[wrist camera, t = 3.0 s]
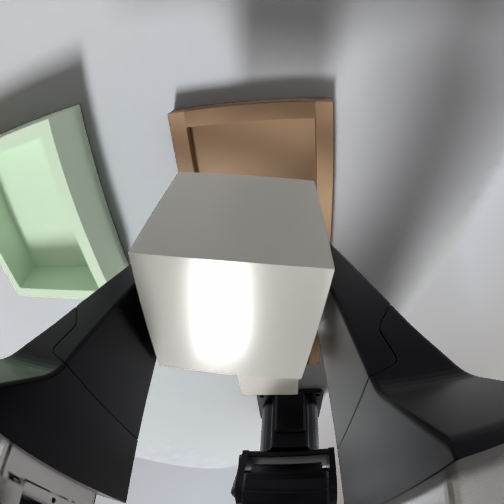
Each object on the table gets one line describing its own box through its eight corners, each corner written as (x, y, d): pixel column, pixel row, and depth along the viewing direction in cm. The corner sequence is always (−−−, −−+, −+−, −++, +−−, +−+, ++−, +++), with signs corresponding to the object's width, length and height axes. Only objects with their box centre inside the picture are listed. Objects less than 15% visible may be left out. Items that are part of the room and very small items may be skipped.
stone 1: (296, 350, 24) (297, 394, 21) (246, 351, 25) (241, 394, 21) (297, 317, 22) (299, 365, 19) (240, 318, 22) (234, 365, 19)
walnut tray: (317, 353, 25) (318, 363, 24) (227, 355, 26) (225, 364, 25) (329, 98, 14) (332, 101, 13) (173, 109, 14) (167, 114, 14)
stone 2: (296, 283, 11) (301, 379, 8) (187, 274, 12) (159, 365, 8) (314, 181, 9) (334, 269, 6) (178, 171, 9) (128, 253, 6)
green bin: (130, 270, 21) (115, 300, 19) (36, 271, 22) (18, 295, 20) (79, 104, 14) (48, 118, 12) (-17, 142, 15) (-45, 159, 13)
